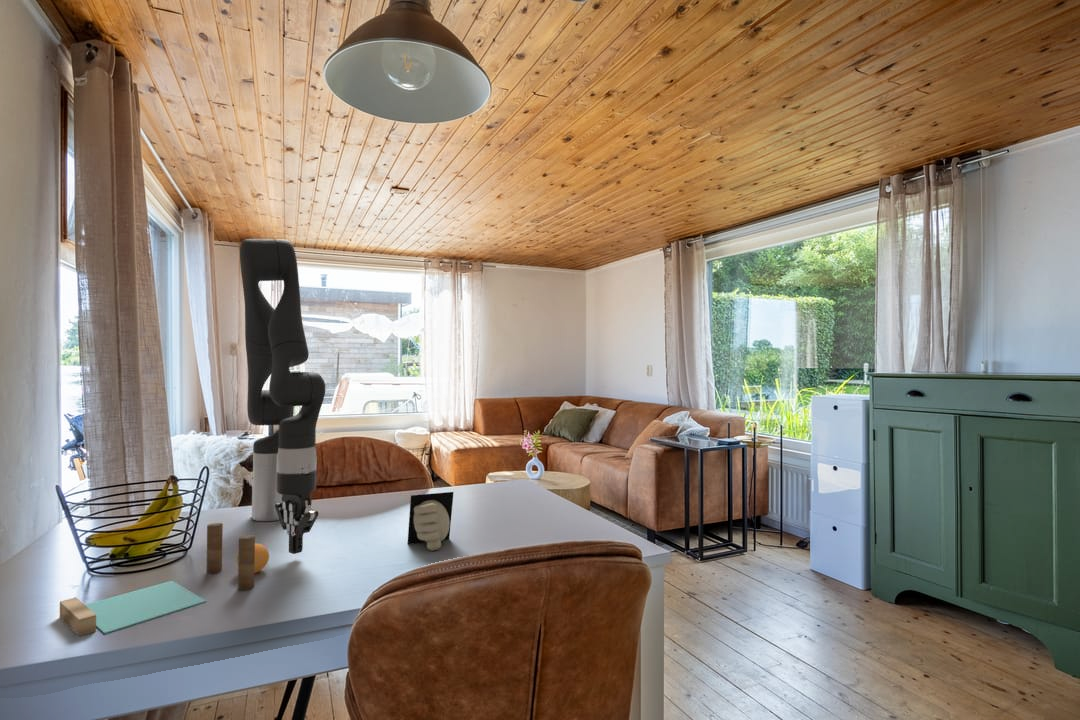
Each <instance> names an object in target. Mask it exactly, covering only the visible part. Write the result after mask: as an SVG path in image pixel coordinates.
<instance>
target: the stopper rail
mask: <svg viewBox="0 0 1080 720" xmlns="http://www.w3.org/2000/svg"><path fill="white" fill-rule="evenodd" d="M59 618H60V620H62V621H63V622H64V623H65V624H66V625H67V626H68V627H69V628H70V629H71V630H72V631H73V632H74V633H75V634H76V635H77V636H78V637H83V636H85V635H88V634H92V633H95V632H97V627H96V614H95V613H94V612H93V611H91V610H90V609H89V608H88V607H87V606H85V604H84V602H82V601H81V600H80V599H78V598H77V597H72V598H68V599H63V600H61V601H59Z"/></svg>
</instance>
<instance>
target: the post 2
mask: <svg viewBox="0 0 1080 720" xmlns="http://www.w3.org/2000/svg"><path fill="white" fill-rule="evenodd" d="M255 543H256V536H255V535H243V536H240V537H238V553H237V557H238V564H237V566H238V567H237V590H238V591H240V592H241V591H242V592H244V591H248V590H252V589H254V587H255V573H254V562H255Z"/></svg>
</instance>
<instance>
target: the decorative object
mask: <svg viewBox="0 0 1080 720" xmlns="http://www.w3.org/2000/svg"><path fill="white" fill-rule="evenodd" d="M454 493H455V492H454V491H448V492H437V493H436V492H435V493H425V494H413V495H410V503H409V514H408V515H409V519H408V529H407V530H408V533H407V545H411V544H412V543H413V544H420V543H426V549H427V550H429V551H436V550H439V549H440V548H441V547H442V541H446V540H450V533H451V524H452V513H453V503H454V501H453V500H454ZM413 544H412V545H413Z"/></svg>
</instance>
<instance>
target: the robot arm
mask: <svg viewBox="0 0 1080 720" xmlns="http://www.w3.org/2000/svg"><path fill="white" fill-rule="evenodd" d="M239 263H240V272H241V273H240V274H241V281H242V282H241V283H242V289H243V297H244V298H243V300H244V316H245V317H244V325H245V326H244V332H245V333H244V337H245V338H244V339H245V351H246V363H247V365H246V366H247V401H246V402H247V404H246V405H247V407H246V408H247V418H248V421H249V423H250V424H251V425H252V426H253V425H254V426H278V429H277V430H276V431H275V432H274V433H272V434H270V435H267V436H264V437H261V438H259V439H257V440H255V441H254V443H253V445H252V446H253V449H252V451H253V452H252V481H251V485H252V486H251V517H252V520H254V521H256V522H273V521H279V523H280V526H281V528H282V530H283V531H286V534H287V535H288V553H291V554H293V555H296V554H300V553H301V552H303V548H304V547H303V546H304V542H303V540H304V539H303V537H304V536H303V535H304V534H307V533H310V531H311V529H312V528H313V526H314V523H316V521H317V519H318V516H319V511H318V510H313V508H312V498H311V494H312V492H314V491H315V490H316V489H317V449H316V442H317V440H316V437H317V436H316V432H317V430H316V428H317V424H318V420H319V416H320V412H321V409H322V405H323V402H324V398H325V396H326V384H325V380H324V378H323V377H322V375H320V374H319V373H318V372H314V371H300V372H299V371H291V370H290V368H292V367H297V366H300V365H302V364H305V363H306V361H308V359H309V357H310V356H309V355H310V353H309V348H308V343H307V340H306V335H305V331H304V330H305V329H304V325H303V319H302V308H301V291H300V281H299V279H300V278H299V271H298V269H299V268H298V260H297V255H296V252H295V248H294V246H293V244H292V242H291V241H290V240H288V239H286V238H285V239H284V238H247V239H243V240H242V241H241V243H240V246H239ZM273 281H275V282H276V281H283V291H282V294H281V297H280V299H279V301H278V303H277V305H276V307H275V308H274V307H273V306H272V305H271V303H269V301H268V299H267V298H266V297H265V295H264V294H263V292H262V290H261V288H260V286H259V284H260V282H273ZM269 378H270V381H269V382H270V383H269V389H265V390H264V389H263V388H264V386H265V384H266V382H267V380H268V379H269ZM295 407H301V408H300V410H299V412H298V413H297V414H295V415H294V411H295V410H294V409H295Z"/></svg>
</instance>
